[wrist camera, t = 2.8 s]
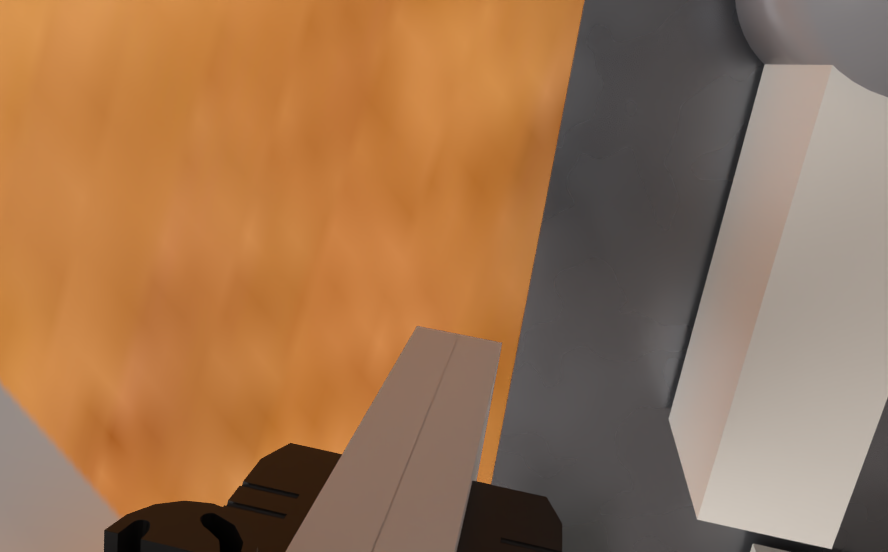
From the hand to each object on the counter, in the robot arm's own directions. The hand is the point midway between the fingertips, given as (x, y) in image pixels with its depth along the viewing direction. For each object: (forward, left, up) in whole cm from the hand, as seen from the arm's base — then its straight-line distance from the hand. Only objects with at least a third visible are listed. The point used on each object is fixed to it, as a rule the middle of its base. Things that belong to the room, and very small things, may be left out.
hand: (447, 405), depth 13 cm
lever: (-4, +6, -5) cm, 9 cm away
